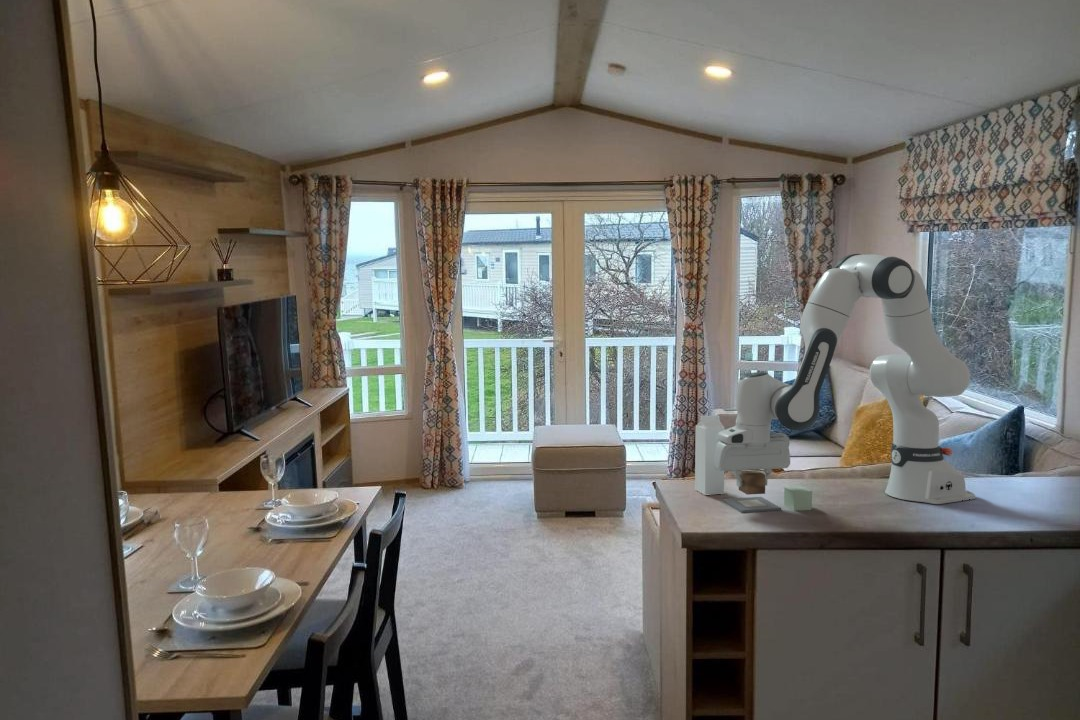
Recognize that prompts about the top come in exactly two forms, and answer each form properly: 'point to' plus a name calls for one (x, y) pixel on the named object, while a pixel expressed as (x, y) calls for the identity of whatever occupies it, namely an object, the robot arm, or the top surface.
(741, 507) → the coaster
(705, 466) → the milk
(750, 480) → the walnut block
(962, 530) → the top surface
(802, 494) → the green block
